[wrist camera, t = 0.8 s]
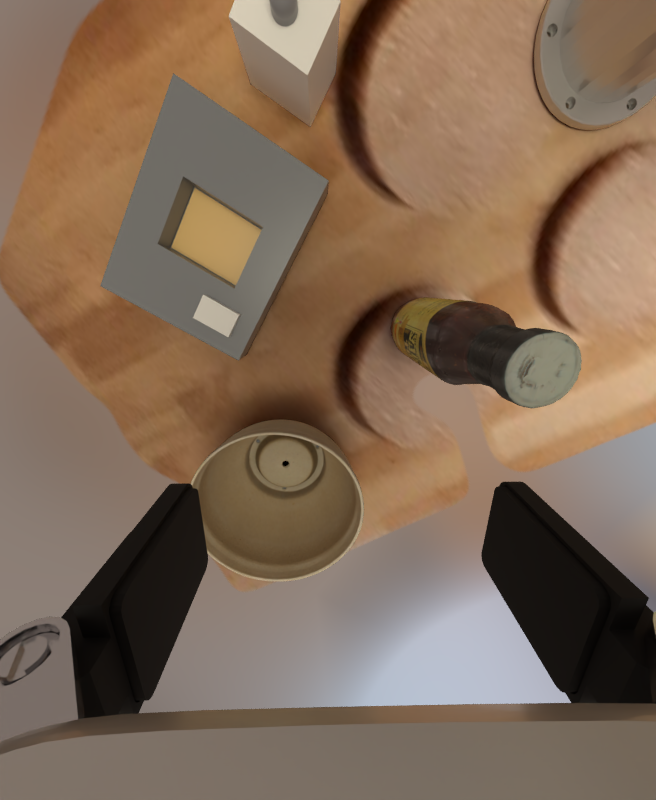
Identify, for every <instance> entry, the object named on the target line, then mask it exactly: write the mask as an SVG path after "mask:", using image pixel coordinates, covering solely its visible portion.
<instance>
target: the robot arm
mask: <svg viewBox="0 0 656 800" xmlns="http://www.w3.org/2000/svg"><path fill="white" fill-rule="evenodd" d="M534 70H535V75H536V81H537V86H538V89H539V91H540V94H541V97H542V99H543V101H544V102H545V104H546V106H547V107H548V109H549V110H550V112H551V113H552V114H553V115H554V116H555V117H556V118H558V119H559V120H560V121H561V122H563V123H565V124H567V125H568V126H570V127H574V128H578V129H581V130H597V129H601V128H606V127H609V126H612V125H614V124H616V123H619V122H621V121H623V120H624V119H626V118H628V117H630V116H631V115H633V114H635V113H636V112H637V111H639V110H640V109H641V108H643V107H644V106H645V105H646V104H648V103H649V102H650V101H651V100H652V99H653V98H654V97H655V96H656V0H548V1H547V4H546V6H545V8H544V11H543V13H542V15H541V19H540V23H539V26H538V30H537V34H536V41H535V49H534ZM482 561H483V564H484V567H485V568H486V570H487V572H488V573H489V575H490V577H491V578H492V580H493V581H494V583H495V585H496V587H497V588H498V590H499V592H500V593H501V595H502V597H503V598H504V600H505V602H506V603H507V605H508V607H509V608H510V610H511V612H512V614H513V615H514V617H515V619H516V620H517V622H518V623H519V625H520V627H521V628H522V630H523V632H524V634H525V635H526V637H527V639H528V640H529V642H530V643H531V645H532V647H533V649H534V650H535V652H536V654H537V655H538V657H539V659H540V660H541V662H542V664H543V665H544V667H545V669H546V670H547V672H548V674H549V675H550V677H551V679H552V680H553V682H554V684H555V685H556V686H557V688H558V689H559V690H560V691H562V692H565V693H566V694H567V696H568V698H569V699H570V701H571V703H541V704H540V703H538V704H465V705H464V704H463V705H412V706H360V707H314V708H277V709H276V708H275V709H238V710H201V711H180V712H158V713H139V711H140V708H141V706H142V704H143V702H144V700H149V699H150V698H151V697H152V695H153V693H154V691H155V689H156V687H157V684H158V682H159V679H160V677H161V675H162V672H163V670H164V667H165V665H166V662H167V660H168V658H169V656H170V653H171V651H172V648H173V646H174V644H175V642H176V639H177V637H178V634H179V632H180V629H181V627H182V625H183V622H184V620H185V618H186V615H187V613H188V611H189V608H190V606H191V604H192V601H193V599H194V597H195V594H196V592H197V589H198V587H199V584H200V582H201V580H202V577H203V575H204V573H205V571H206V567H207V563H208V554H207V547H206V540H205V533H204V526H203V520H202V513H201V506H200V499H199V493H198V490H197V489H196V488H193V487H192V485H191V484H170V485H169V486H168V487H167V488H166V489H165V491H164V492H163V493H162V495H161V496H160V497H159V498H158V499H157V501H156V502H155V503H154V505H153V506H152V507H151V508H150V509H149V511H148V512H147V513H146V514H145V516H144V517H143V518H142V520H141V521H140V522H139V523H138V524H137V526H136V527H135V528H134V529H133V530H132V532H130V533H129V534H128V536H127V537H126V538H125V539H124V541H123V542H122V543H121V544H120V546H119V547H118V548H117V549H116V550H115V552H114V553H113V554H112V555H111V557H110V558H109V559H108V560H107V562H106V563H105V564H104V565H103V566H102V568H101V569H100V570H99V572H98V573H97V574H96V575H95V576H94V578H93V579H92V580H91V581H90V583H89V584H88V585H87V586H86V588H85V589H84V590H83V591H82V592H81V594H80V595H79V596H78V597H77V599H76V600H75V601H74V602H73V604H72V605H71V606H70V607H69V609H68V610H67V611H66V612H65V614H64V615H63V616H62V617H61V618H60V617H46V618H41V619H36V620H34V621H31V622H29V623H26V624H24V625H22V626H20V627H18V628H16V629H15V630H13V631H11V632H9V633H8V634H6V635H5V636H4V637H3V638H1V639H0V800H656V612H654V613H653V611H651V610H650V609H649V608H648V607H647V606H646V603H647V601H648V597H647V596H646V595H645V594H644V593H643V592H642V591H641V590H640V589H639V588H637V587H636V586H635V585H634V584H633V583H632V582H631V581H630V580H629V579H627V578H626V576H624V575H623V574H622V573H621V572H620V571H619V570H618V569H617V568H616V567H615V566H614V565H612V563H610V562H609V561H608V560H607V559H606V558H605V557H604V556H603V555H602V554H601V553H599V551H598V550H596V549H595V548H594V547H593V546H592V545H591V544H590V543H589V542H588V541H587V540H585V538H583V537H582V536H581V535H580V534H579V533H578V532H577V531H576V530H575V529H574V528H573V527H572V526H571V525H569V524H568V523H567V522H566V521H565V520H564V519H563V518H562V517H561V516H560V515H559V514H558V513H556V512H555V511H554V510H553V509H552V508H551V507H550V506H549V505H548V504H547V503H546V502H544V501H543V500H542V499H541V498H540V497H539V496H538V495H537V494H536V493H535V492H534V491H533V490H532V489H531V488H529V487H528V486H527V485H526V484H525V483H523V482H502V483H501V484H500V486H499V487H496V488H495V491H494V496H493V500H492V505H491V510H490V515H489V520H488V525H487V530H486V534H485V539H484V544H483V549H482Z"/></svg>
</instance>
